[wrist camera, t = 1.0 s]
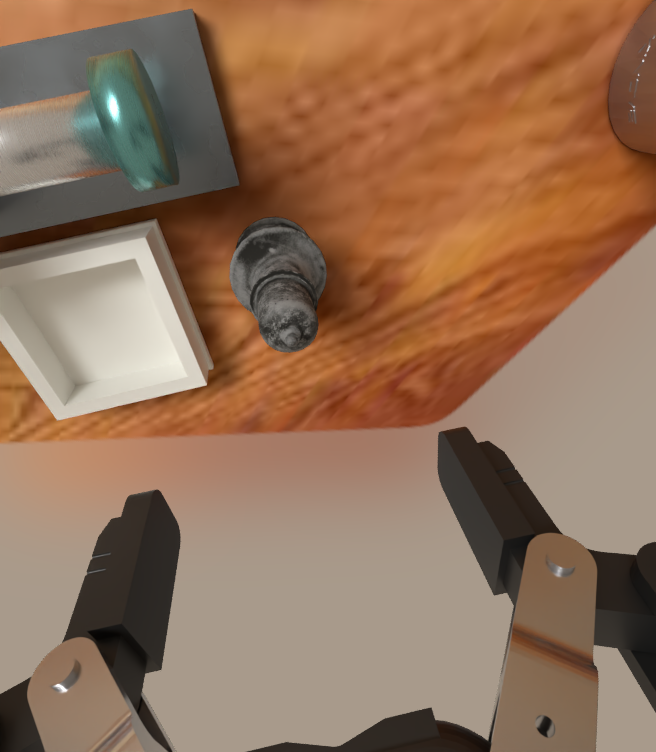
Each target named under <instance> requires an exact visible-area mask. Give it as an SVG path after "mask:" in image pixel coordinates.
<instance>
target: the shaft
mask: <svg viewBox="0 0 656 752" xmlns="http://www.w3.org/2000/svg"><path fill="white" fill-rule="evenodd" d="M86 75H87V81H88V86H89V91H84V92H79V93H74V94H69V95H64V96H59V97H54V98H50V99H45V100H40V101H35V102H30V103H25V104H20V105H15V106H11V107H6V108H1V109H0V197H1V196H6V195H10V194H15V193H20V192H24V191H29V190H34V189H38V188H43V187H48V186H52V185H57V184H62V183H66V182H71V181H76V180H80V179H85V178H90V177H95V176H99V175H104V174H109V173H113V172H118V171H123V173H124V175H125V176H126V178H127V179H128V181H129V182H130V183H131V185H132V186H133V187H134V188H135V189H136V190H137V191H139V192H146V191H151V190H156V189H160V188H165V187H169V186H174V185H178V184H179V180H180V176H179V167H178V162H177V157H176V153H175V148H174V145H173V141H172V137H171V134H170V131H169V127H168V124H167V121H166V118H165V115H164V112H163V110H162V107H161V104H160V101H159V99H158V96H157V94H156V91H155V89H154V86H153V84H152V82H151V79H150V77H149V75H148V73H147V71H146V69H145V67H144V65H143V63H142V61H141V59H140V58H139V56H138V55H137V53H136V52H135V51H134V50H133V49H127V50H122V51H117V52H112V53H108V54H103V55H98V56H93V57H89V58H88V59H87V61H86Z"/></svg>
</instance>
